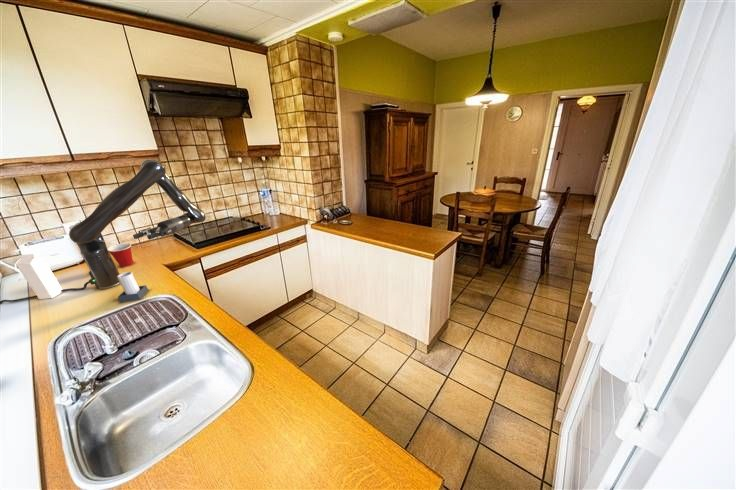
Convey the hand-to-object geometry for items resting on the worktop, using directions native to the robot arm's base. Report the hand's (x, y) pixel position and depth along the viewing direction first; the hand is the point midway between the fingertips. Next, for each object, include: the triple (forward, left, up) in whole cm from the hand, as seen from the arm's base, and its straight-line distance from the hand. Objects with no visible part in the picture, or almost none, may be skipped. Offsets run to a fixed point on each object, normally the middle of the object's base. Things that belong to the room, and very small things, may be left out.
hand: (141, 237), depth 126 cm
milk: (-49, +5, -25) cm, 55 cm away
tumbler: (-6, -11, -24) cm, 27 cm away
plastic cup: (-30, +32, -25) cm, 50 cm away
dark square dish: (-6, -11, -25) cm, 28 cm away
